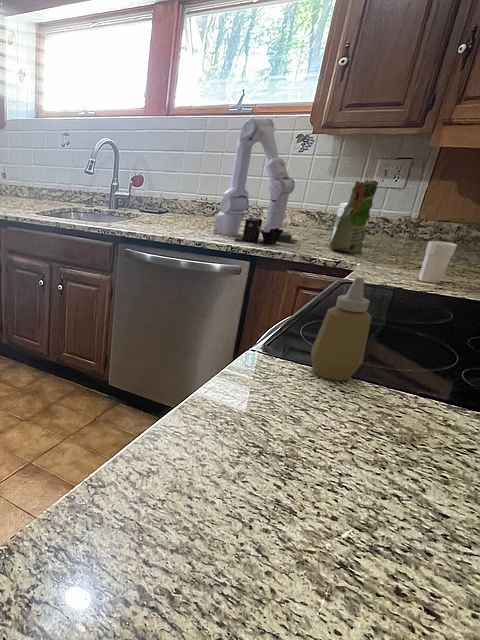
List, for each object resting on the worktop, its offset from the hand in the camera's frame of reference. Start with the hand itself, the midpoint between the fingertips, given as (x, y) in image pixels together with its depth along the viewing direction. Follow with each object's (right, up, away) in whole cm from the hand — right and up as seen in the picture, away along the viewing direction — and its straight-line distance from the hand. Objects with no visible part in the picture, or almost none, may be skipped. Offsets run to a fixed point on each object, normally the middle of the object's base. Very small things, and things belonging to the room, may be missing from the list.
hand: (268, 249), depth 199 cm
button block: (+8, +4, +5) cm, 10 cm away
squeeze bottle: (-42, -45, -104) cm, 121 cm away
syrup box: (+33, +5, +9) cm, 35 cm away
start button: (+8, +6, +4) cm, 11 cm away
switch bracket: (-5, +3, +4) cm, 7 cm away
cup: (+25, -19, -44) cm, 54 cm away
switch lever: (-3, +6, +1) cm, 7 cm away
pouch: (+24, -3, -8) cm, 25 cm away
